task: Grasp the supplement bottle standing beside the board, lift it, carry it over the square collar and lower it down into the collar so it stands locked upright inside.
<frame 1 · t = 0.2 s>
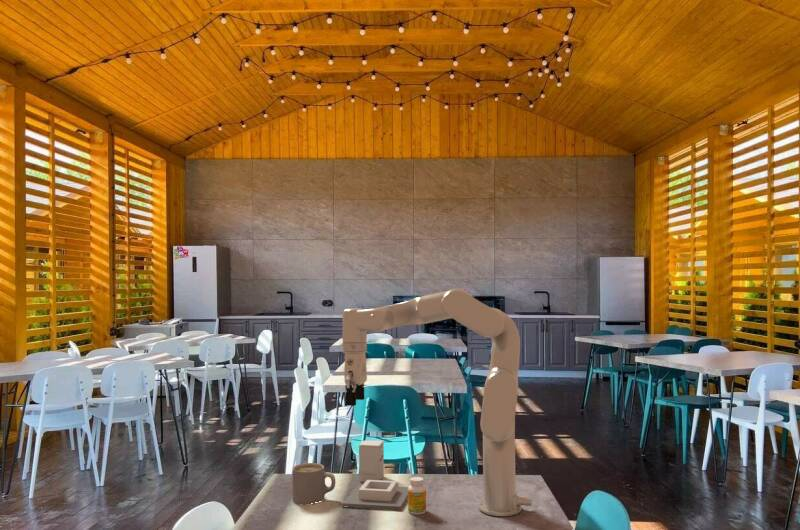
hand: (355, 402, 196), 31 cm above the table, tool pointing down, fingers open, 9 cm apart
supplement box: (371, 479, 217), on the table
collar board: (378, 498, 197), on the table
supplement bottle: (417, 512, 186), on the table
coffee mug: (313, 500, 197), on the table
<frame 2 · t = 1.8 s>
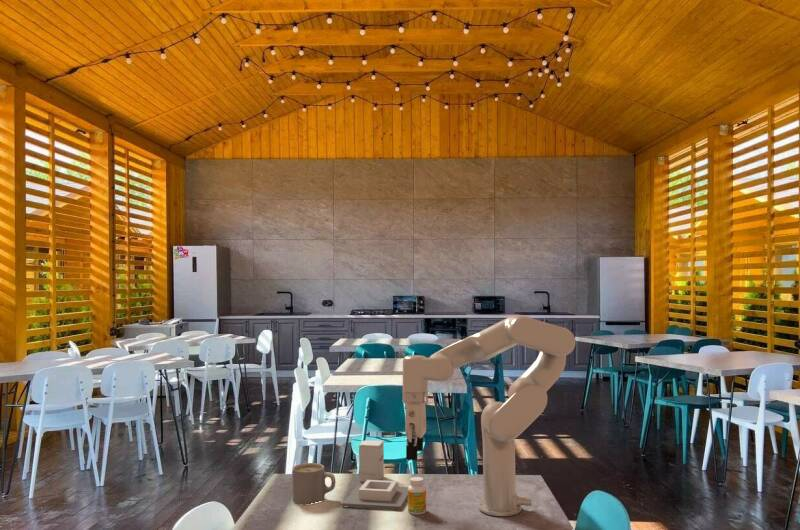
hand: (414, 455, 186), 17 cm above the table, tool pointing down, fingers open, 9 cm apart
nothing on the table moved.
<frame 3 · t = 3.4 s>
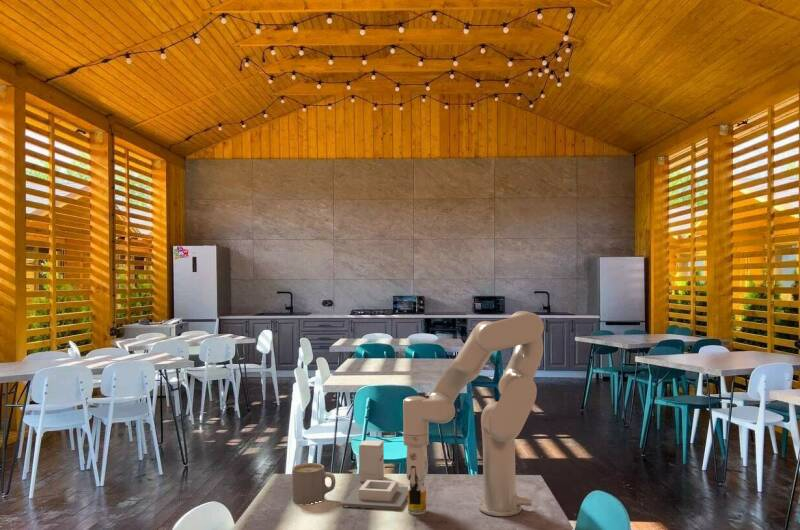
hand: (416, 499, 186), 4 cm above the table, tool pointing down, fingers closed on supplement bottle, 5 cm apart
supplement bottle: (417, 512, 186), on the table, touching gripper
everything else where it was.
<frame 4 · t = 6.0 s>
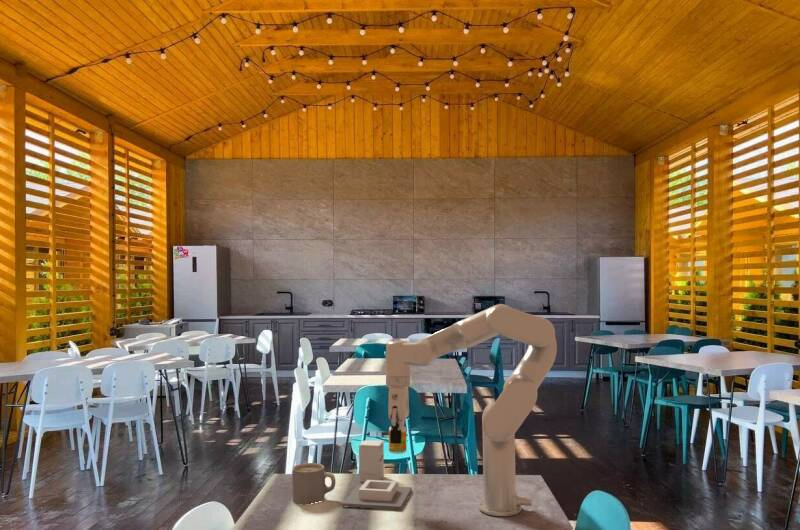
hand: (397, 440, 191), 20 cm above the table, tool pointing down, fingers closed on supplement bottle, 5 cm apart
supplement bottle: (397, 452, 191), point 16 cm above the table, touching gripper
everything else where it was.
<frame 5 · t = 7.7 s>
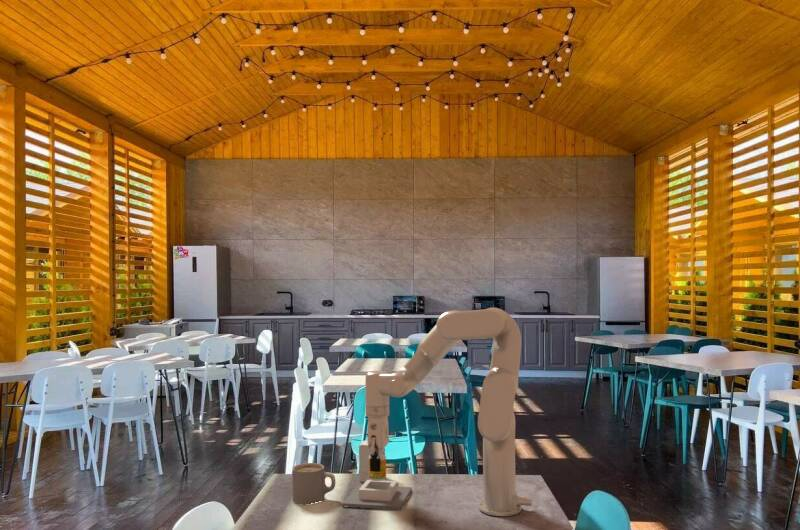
hand: (377, 467, 198), 10 cm above the table, tool pointing down, fingers closed on supplement bottle, 5 cm apart
supplement bottle: (377, 479, 197), point 6 cm above the table, touching gripper
everything else where it was.
when the fingers open (6 cm above the table, at t = 9.0 s): supplement bottle stays where it is, resting on collar board.
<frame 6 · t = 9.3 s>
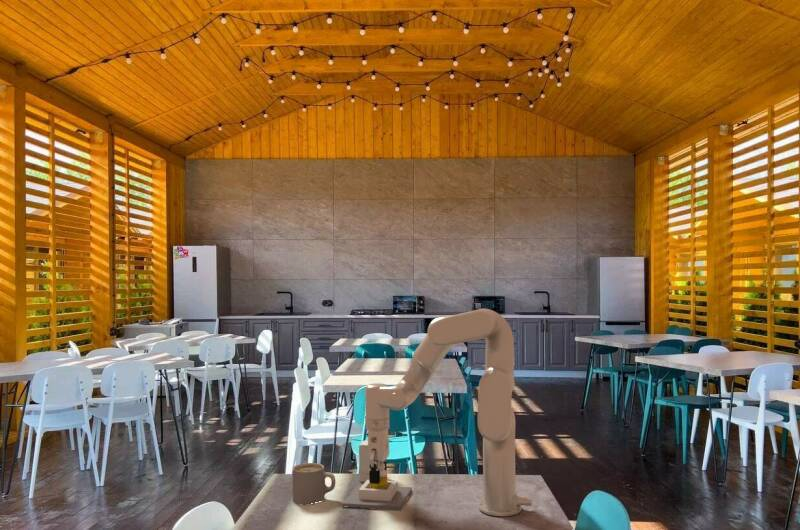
hand: (378, 478, 197), 6 cm above the table, tool pointing down, fingers open, 8 cm apart
supplement bottle: (378, 495, 197), point 1 cm above the table, touching collar board
everything else where it was.
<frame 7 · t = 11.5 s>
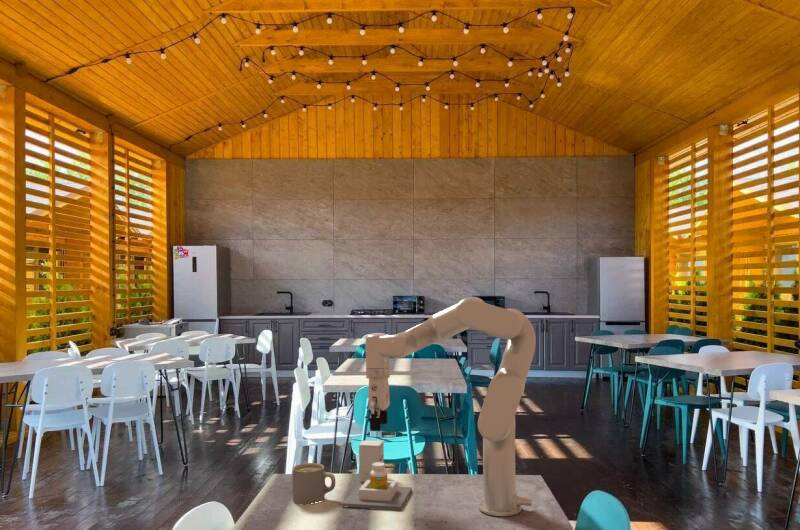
hand: (378, 427, 198), 22 cm above the table, tool pointing down, fingers open, 9 cm apart
nothing on the table moved.
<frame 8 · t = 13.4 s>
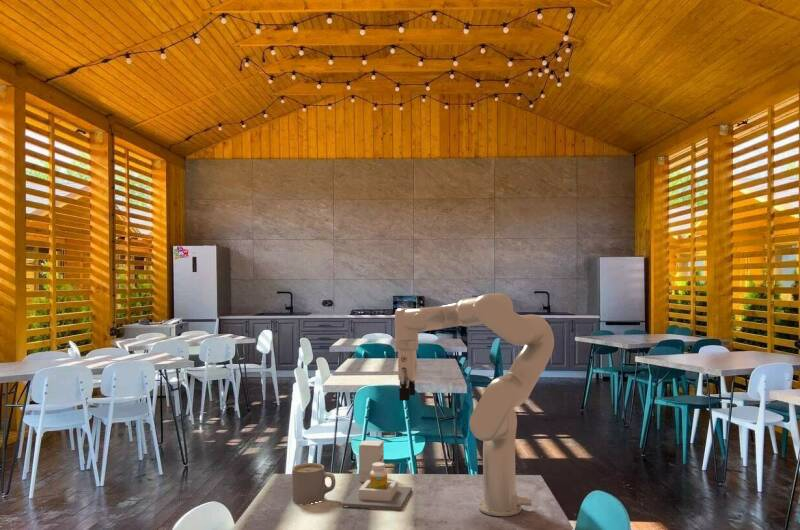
hand: (407, 397, 205), 30 cm above the table, tool pointing down, fingers open, 9 cm apart
nothing on the table moved.
at the end: supplement bottle 0.2 cm off-centre on the collar board, point 1.0 cm above the collar board's base; supplement bottle tilted 0°; the gripper is holding nothing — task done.
